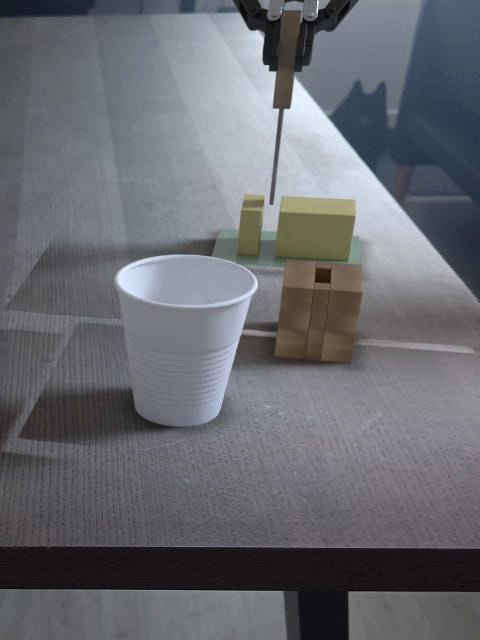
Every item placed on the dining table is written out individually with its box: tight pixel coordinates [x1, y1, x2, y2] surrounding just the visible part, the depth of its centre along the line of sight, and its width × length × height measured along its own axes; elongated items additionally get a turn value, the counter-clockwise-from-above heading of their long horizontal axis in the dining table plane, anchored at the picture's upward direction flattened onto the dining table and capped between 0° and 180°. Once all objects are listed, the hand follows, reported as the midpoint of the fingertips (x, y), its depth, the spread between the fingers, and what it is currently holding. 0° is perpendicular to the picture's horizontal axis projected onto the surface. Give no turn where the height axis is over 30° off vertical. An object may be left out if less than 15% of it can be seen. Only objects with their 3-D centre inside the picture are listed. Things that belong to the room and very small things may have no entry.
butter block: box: [274, 195, 357, 261], centre depth 101 cm, size 7×5×4 cm
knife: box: [268, 9, 303, 206], centre depth 97 cm, size 2×3×17 cm, turn 164°
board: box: [211, 228, 361, 268], centre depth 104 cm, size 14×10×2 cm
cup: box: [113, 254, 259, 428], centre depth 75 cm, size 10×10×11 cm
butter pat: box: [237, 194, 266, 255], centre depth 103 cm, size 2×5×4 cm, turn 164°
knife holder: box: [273, 260, 364, 364], centre depth 84 cm, size 6×6×7 cm
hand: (285, 66), depth 93 cm, fingers closed on knife, 1 cm apart
